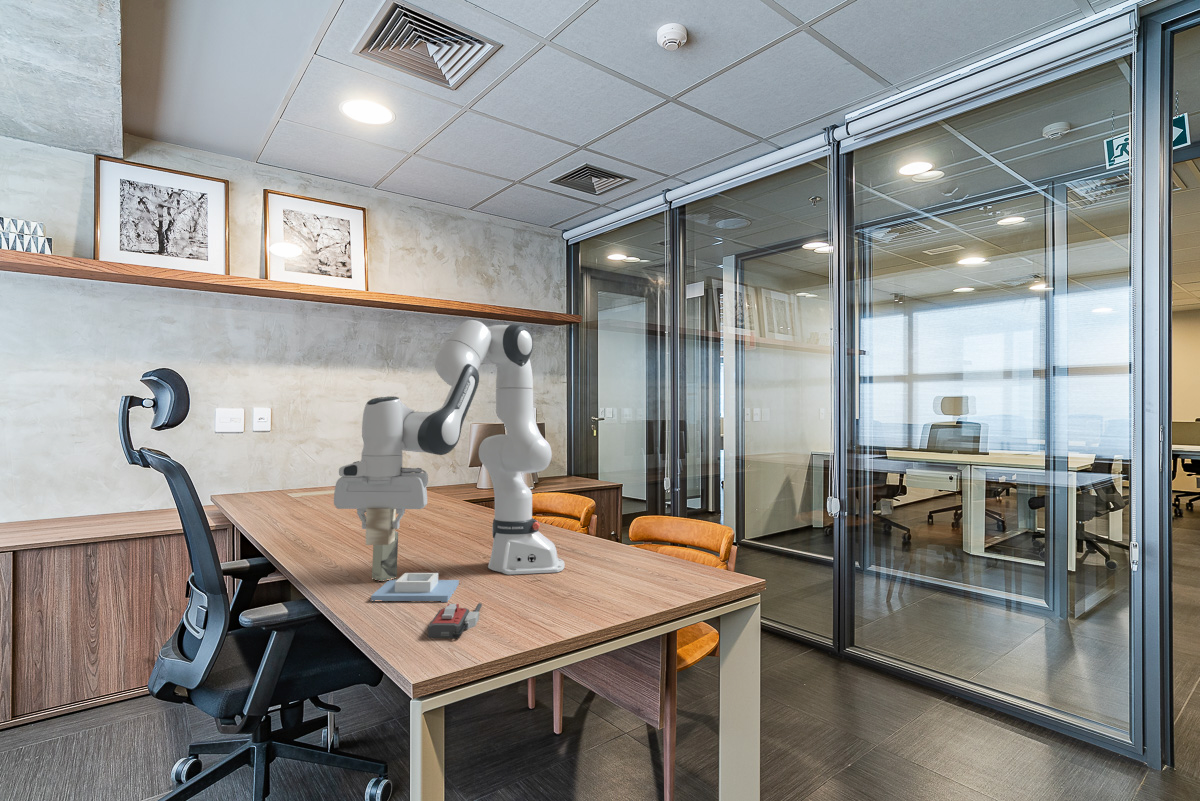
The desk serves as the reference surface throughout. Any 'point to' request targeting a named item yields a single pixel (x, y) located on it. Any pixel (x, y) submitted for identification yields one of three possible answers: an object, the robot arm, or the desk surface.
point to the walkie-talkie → (453, 621)
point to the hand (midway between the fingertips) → (380, 528)
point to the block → (379, 526)
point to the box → (385, 560)
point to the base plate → (416, 588)
